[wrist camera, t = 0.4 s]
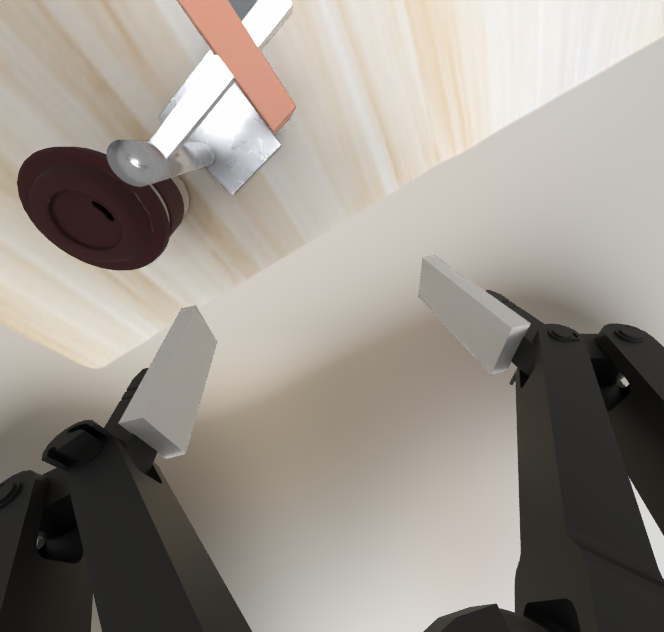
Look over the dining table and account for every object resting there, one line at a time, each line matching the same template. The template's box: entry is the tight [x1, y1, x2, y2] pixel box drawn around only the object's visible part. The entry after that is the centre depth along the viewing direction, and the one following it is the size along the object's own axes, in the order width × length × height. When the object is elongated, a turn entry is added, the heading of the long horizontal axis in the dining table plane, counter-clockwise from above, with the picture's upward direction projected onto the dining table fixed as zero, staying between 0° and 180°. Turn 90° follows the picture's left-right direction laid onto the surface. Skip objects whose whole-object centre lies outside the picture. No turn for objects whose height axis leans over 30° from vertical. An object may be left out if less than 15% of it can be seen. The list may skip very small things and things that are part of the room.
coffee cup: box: [17, 147, 189, 270], centre depth 25 cm, size 10×10×15 cm
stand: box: [107, 0, 293, 195], centre depth 21 cm, size 10×14×19 cm
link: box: [177, 0, 296, 135], centre depth 17 cm, size 8×2×9 cm, turn 38°
